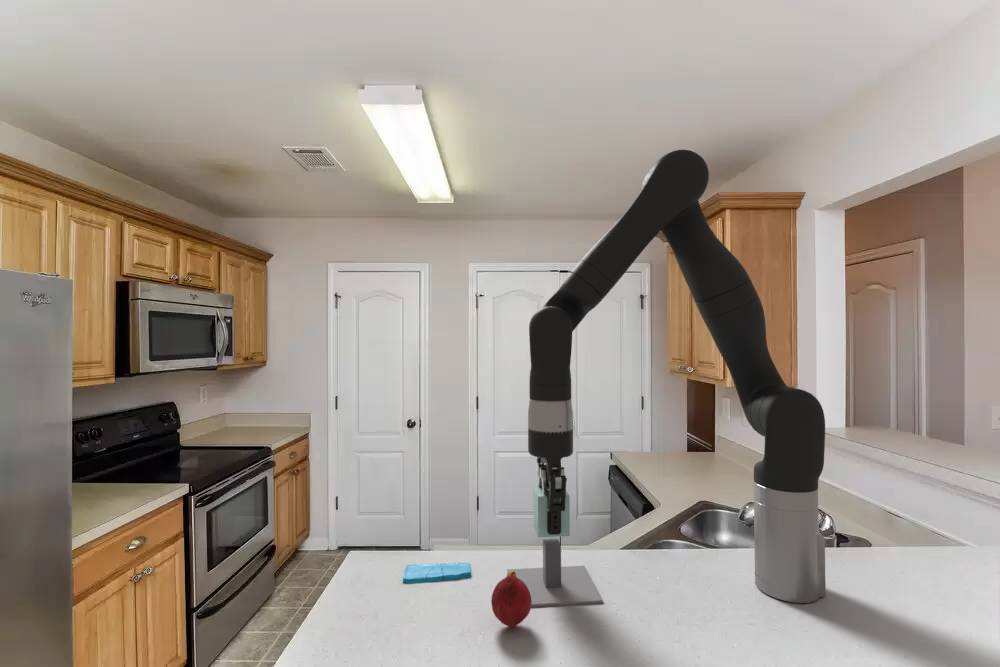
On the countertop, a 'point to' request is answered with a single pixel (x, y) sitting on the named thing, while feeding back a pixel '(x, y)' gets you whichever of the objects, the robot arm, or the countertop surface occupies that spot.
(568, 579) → the mat
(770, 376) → the robot arm
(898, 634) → the countertop surface
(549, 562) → the post
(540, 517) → the mint green square prism
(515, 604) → the onion
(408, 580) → the sponge
